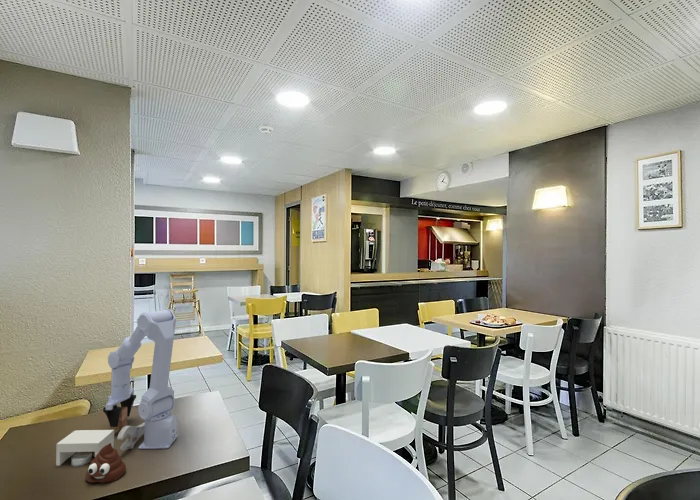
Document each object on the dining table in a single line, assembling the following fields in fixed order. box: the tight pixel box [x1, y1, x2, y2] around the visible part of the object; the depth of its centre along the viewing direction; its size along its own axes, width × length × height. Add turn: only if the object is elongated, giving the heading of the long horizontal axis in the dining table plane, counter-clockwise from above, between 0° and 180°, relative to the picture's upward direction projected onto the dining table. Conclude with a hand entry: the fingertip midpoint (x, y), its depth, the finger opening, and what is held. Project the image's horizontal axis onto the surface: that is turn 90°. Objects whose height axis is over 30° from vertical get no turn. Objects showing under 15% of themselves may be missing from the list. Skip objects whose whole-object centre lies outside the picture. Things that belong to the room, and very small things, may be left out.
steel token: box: [70, 452, 93, 467], centre depth 110 cm, size 5×5×2 cm
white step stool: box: [55, 429, 115, 467], centre depth 112 cm, size 12×8×6 cm, turn 94°
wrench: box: [116, 421, 145, 451], centre depth 127 cm, size 8×2×30 cm
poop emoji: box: [85, 443, 127, 483], centre depth 103 cm, size 10×8×9 cm
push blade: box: [77, 407, 128, 457], centre depth 123 cm, size 6×19×7 cm, turn 4°
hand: (120, 421), depth 131 cm, fingers open, 7 cm apart
